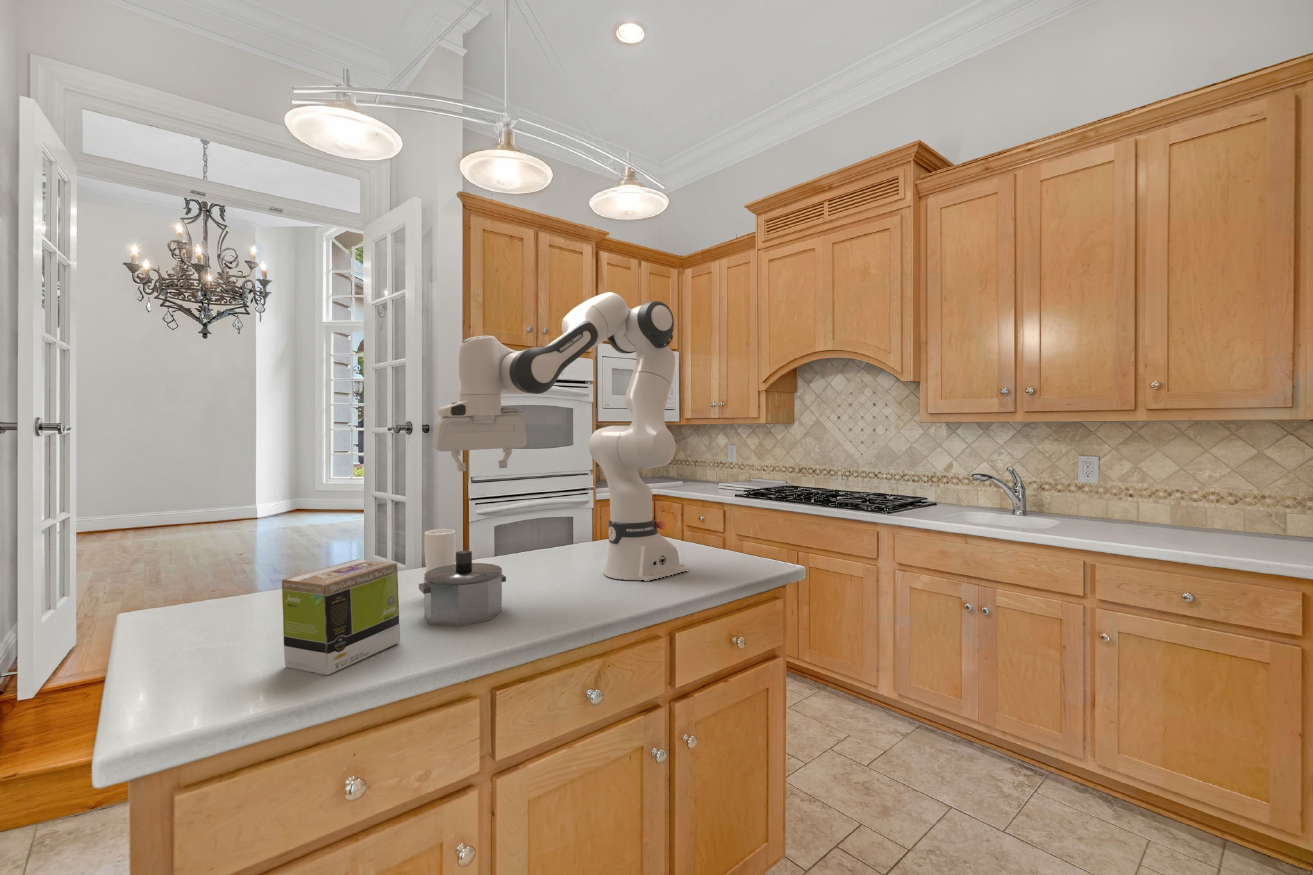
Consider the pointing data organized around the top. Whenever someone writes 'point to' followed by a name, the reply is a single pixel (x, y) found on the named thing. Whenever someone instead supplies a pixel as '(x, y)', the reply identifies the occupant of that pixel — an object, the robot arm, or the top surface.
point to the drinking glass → (439, 548)
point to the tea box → (340, 615)
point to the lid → (463, 572)
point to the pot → (462, 602)
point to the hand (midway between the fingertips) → (482, 469)
